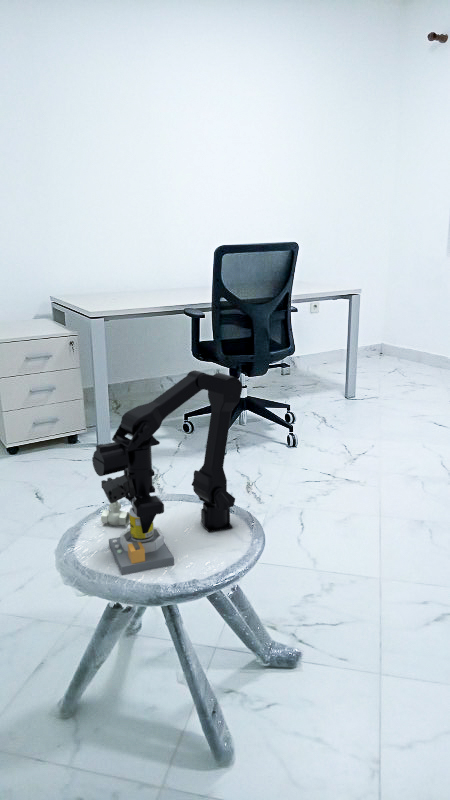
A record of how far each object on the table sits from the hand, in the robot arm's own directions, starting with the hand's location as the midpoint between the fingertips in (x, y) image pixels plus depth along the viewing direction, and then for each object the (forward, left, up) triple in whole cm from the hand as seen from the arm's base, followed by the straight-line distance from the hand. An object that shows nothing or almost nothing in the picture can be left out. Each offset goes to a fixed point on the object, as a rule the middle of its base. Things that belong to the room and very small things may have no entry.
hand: (142, 527), depth 148 cm
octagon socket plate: (+1, +2, -6) cm, 6 cm away
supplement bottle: (0, 0, -3) cm, 3 cm away
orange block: (+3, +7, -4) cm, 9 cm away
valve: (+3, -16, -6) cm, 17 cm away
